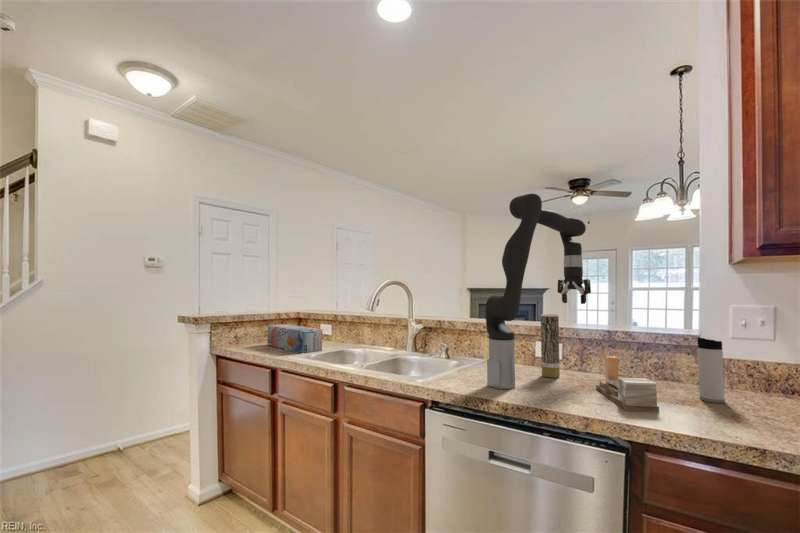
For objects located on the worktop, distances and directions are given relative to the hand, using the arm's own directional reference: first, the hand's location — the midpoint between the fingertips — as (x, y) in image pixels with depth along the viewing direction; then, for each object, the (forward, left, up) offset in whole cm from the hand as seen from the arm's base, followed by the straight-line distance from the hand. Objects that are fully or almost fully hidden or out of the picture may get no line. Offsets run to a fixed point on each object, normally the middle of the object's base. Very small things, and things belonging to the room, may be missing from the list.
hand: (573, 303), depth 164 cm
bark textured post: (-17, 0, -29) cm, 34 cm away
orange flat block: (-21, -29, -27) cm, 45 cm away
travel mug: (-1, -48, -29) cm, 56 cm away
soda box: (-86, +125, -30) cm, 155 cm away
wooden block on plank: (-23, -33, -29) cm, 50 cm away
